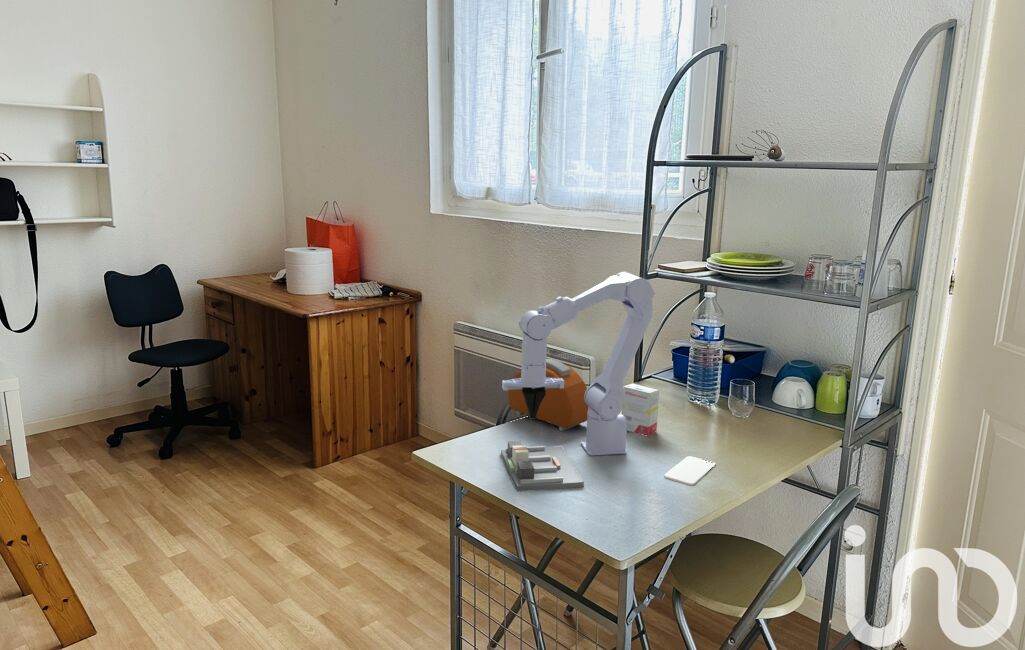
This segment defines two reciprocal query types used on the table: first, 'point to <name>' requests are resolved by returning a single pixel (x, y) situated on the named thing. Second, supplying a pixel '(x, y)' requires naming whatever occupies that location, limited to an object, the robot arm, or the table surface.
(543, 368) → the robot arm
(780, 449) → the table surface
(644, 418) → the ink box
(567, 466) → the breaker board
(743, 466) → the table surface
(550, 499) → the table surface
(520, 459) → the handle
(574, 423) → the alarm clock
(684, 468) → the smartphone
